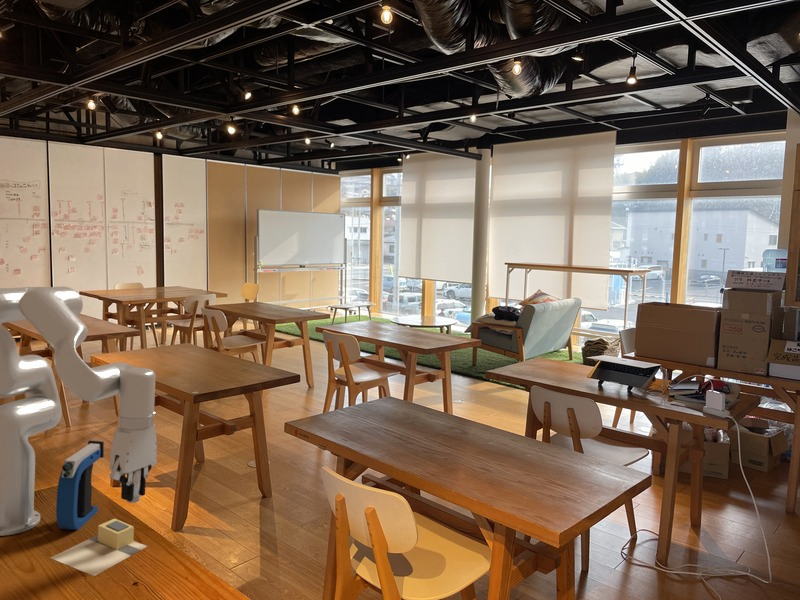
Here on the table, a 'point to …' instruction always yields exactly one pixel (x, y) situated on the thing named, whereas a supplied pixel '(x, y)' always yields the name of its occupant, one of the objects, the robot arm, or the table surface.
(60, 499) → the handheld scanner
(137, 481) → the steel pin
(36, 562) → the table surface
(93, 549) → the white square mat
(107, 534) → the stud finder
